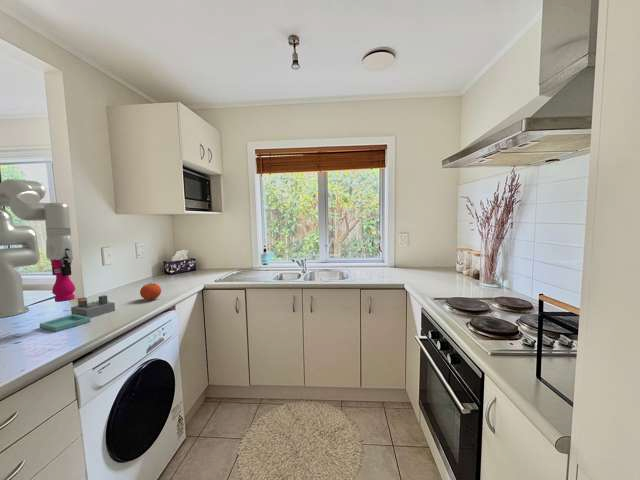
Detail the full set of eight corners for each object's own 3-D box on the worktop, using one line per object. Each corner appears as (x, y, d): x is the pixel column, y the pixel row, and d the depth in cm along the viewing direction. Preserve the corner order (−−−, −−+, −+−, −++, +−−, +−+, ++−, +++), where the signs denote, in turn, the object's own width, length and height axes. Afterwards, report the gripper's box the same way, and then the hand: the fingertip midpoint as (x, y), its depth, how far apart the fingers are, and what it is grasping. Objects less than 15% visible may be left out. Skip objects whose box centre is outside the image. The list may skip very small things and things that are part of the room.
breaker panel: (71, 315, 131) (71, 306, 131) (99, 307, 143) (99, 299, 142) (87, 318, 127) (86, 309, 127) (114, 310, 138) (114, 302, 138)
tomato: (151, 302, 151) (150, 284, 150) (135, 301, 153) (134, 283, 152) (165, 297, 161) (165, 280, 160) (150, 296, 163) (149, 279, 162)
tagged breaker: (78, 306, 132) (77, 298, 132) (84, 304, 134) (83, 297, 134) (81, 306, 131) (80, 299, 131) (87, 305, 133) (87, 297, 133)
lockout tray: (40, 328, 116) (39, 323, 116) (74, 318, 127) (73, 314, 127) (56, 332, 112) (56, 327, 112) (90, 322, 123) (90, 317, 123)
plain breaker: (99, 303, 136) (98, 296, 135) (104, 302, 138) (103, 295, 138) (102, 304, 135) (101, 297, 134) (107, 302, 137) (107, 295, 137)
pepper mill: (74, 297, 123) (69, 252, 122) (77, 299, 119) (72, 252, 118) (52, 301, 118) (47, 254, 117) (54, 303, 113) (49, 254, 112)
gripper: (35, 232, 116) (39, 275, 118) (59, 233, 110) (62, 278, 111) (58, 231, 123) (61, 272, 125) (81, 232, 117) (84, 274, 118)
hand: (62, 274), depth 118 cm, fingers closed on pepper mill, 5 cm apart
